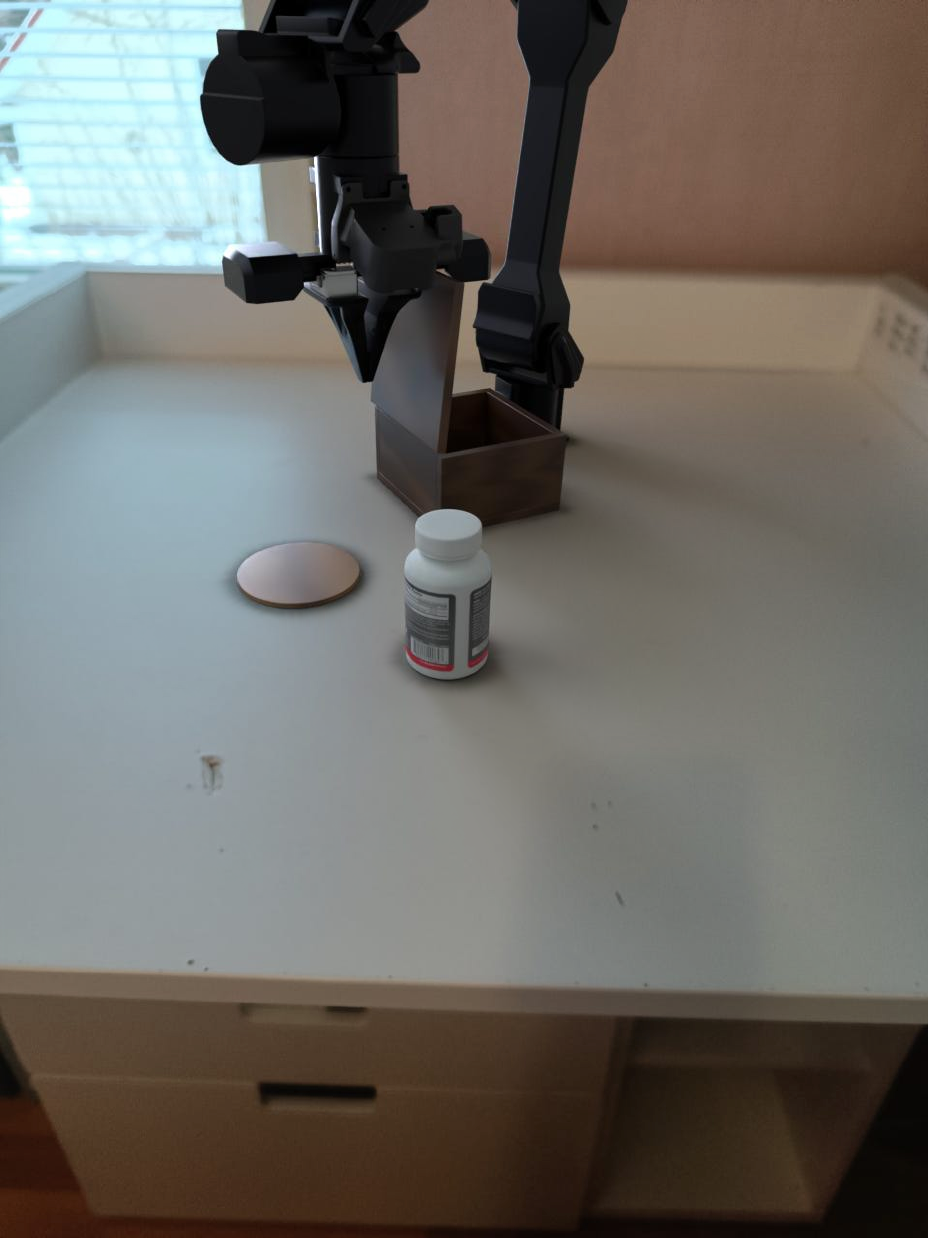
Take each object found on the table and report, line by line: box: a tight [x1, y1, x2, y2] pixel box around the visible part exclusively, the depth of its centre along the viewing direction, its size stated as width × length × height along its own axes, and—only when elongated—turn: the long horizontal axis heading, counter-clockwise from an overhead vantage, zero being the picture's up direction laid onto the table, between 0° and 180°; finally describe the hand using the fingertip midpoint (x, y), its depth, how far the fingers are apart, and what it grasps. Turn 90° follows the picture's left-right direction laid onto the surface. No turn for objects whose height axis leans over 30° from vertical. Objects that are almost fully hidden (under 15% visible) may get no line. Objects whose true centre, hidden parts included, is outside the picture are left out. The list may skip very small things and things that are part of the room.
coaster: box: [236, 541, 361, 609], centre depth 65 cm, size 9×9×1 cm
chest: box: [374, 387, 568, 528], centre depth 76 cm, size 12×13×7 cm
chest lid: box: [370, 270, 466, 453], centre depth 68 cm, size 12×13×1 cm
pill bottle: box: [403, 509, 493, 680], centre depth 54 cm, size 5×5×10 cm
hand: (365, 381), depth 68 cm, fingers closed
